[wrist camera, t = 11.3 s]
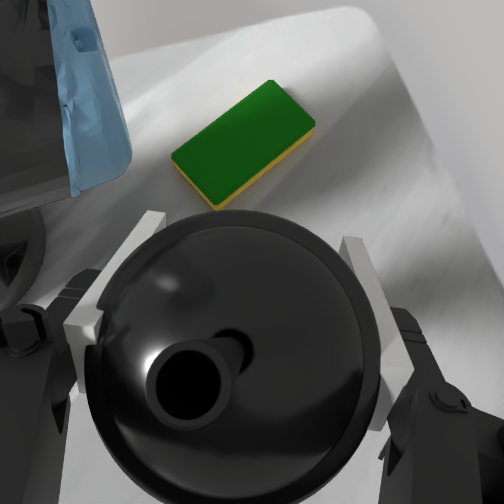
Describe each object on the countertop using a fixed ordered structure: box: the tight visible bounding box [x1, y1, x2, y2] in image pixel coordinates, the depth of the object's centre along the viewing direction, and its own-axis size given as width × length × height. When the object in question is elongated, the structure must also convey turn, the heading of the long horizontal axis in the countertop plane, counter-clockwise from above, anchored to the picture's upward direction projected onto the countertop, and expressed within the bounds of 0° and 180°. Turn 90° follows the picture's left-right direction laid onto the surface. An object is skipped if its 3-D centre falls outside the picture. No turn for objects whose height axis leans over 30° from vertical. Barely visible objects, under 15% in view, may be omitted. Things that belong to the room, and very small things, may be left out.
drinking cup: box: [84, 210, 381, 504], centre depth 12 cm, size 8×8×20 cm
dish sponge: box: [171, 80, 315, 211], centre depth 37 cm, size 7×14×2 cm, turn 132°
